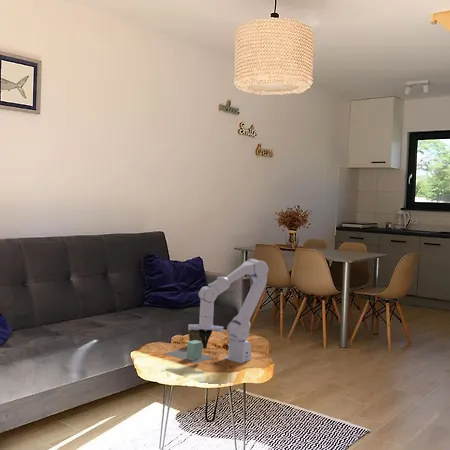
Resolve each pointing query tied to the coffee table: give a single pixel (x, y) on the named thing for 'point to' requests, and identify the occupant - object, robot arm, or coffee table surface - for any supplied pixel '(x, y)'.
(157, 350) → the coffee table surface
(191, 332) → the cup
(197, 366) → the coffee table surface
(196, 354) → the block
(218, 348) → the coffee table surface
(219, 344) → the coffee table surface
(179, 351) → the mat
